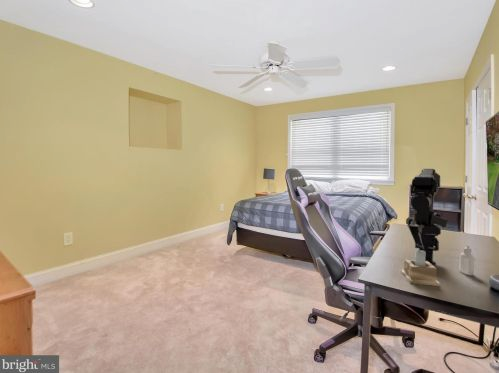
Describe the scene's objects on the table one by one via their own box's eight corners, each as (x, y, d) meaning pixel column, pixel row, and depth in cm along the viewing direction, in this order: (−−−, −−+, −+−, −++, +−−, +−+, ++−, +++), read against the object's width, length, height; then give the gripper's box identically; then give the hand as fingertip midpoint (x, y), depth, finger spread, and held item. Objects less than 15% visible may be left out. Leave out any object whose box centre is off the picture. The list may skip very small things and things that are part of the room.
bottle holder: (400, 271, 117) (401, 257, 116) (427, 273, 114) (427, 259, 114) (410, 283, 105) (411, 268, 105) (440, 286, 103) (440, 270, 102)
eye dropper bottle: (460, 274, 113) (462, 246, 112) (458, 270, 118) (460, 242, 117) (474, 276, 111) (476, 247, 110) (471, 271, 116) (473, 244, 115)
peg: (412, 273, 112) (413, 249, 111) (422, 274, 111) (423, 250, 110) (416, 277, 108) (417, 252, 108) (425, 278, 108) (427, 253, 107)
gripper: (458, 212, 97) (456, 255, 98) (435, 204, 115) (433, 241, 116) (423, 211, 99) (421, 253, 100) (406, 204, 117) (404, 240, 119)
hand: (421, 246), depth 109 cm, fingers open, 9 cm apart
